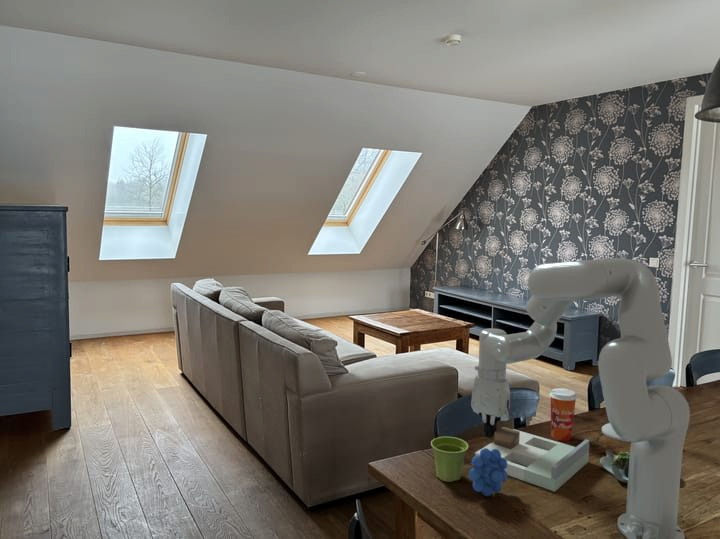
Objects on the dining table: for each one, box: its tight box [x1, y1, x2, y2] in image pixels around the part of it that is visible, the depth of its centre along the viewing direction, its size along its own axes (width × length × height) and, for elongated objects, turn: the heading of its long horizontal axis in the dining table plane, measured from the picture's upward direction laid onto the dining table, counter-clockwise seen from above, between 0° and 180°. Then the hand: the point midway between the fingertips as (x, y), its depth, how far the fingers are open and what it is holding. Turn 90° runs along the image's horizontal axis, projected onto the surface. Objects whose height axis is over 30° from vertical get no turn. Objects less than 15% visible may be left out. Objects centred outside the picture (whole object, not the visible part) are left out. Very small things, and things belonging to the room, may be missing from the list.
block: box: [493, 426, 520, 449], centre depth 155 cm, size 5×5×4 cm
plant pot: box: [430, 436, 469, 483], centre depth 142 cm, size 9×9×9 cm
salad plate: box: [599, 449, 630, 486], centre depth 146 cm, size 19×18×5 cm
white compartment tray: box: [474, 428, 590, 493], centre depth 150 cm, size 22×22×6 cm
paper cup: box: [549, 387, 578, 442], centre depth 167 cm, size 8×8×14 cm
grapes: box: [468, 447, 509, 497], centre depth 131 cm, size 12×7×12 cm, turn 120°
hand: (490, 436), depth 159 cm, fingers closed
